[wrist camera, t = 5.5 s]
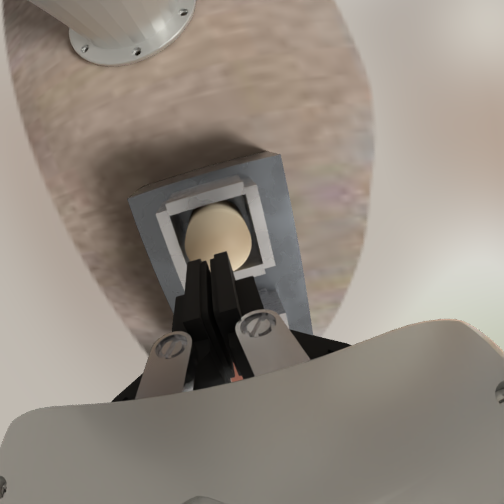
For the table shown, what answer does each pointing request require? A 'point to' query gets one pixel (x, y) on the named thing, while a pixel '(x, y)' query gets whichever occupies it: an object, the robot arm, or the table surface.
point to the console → (255, 216)
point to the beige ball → (218, 233)
